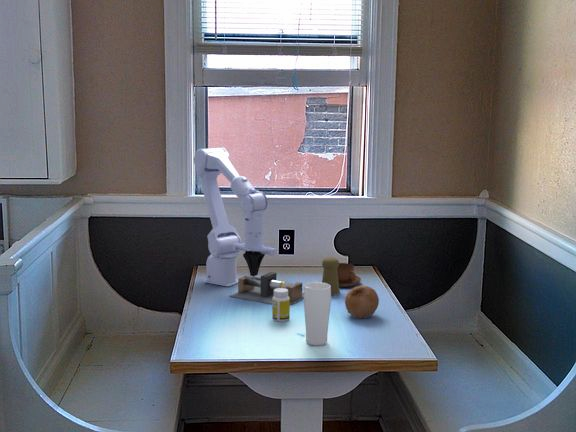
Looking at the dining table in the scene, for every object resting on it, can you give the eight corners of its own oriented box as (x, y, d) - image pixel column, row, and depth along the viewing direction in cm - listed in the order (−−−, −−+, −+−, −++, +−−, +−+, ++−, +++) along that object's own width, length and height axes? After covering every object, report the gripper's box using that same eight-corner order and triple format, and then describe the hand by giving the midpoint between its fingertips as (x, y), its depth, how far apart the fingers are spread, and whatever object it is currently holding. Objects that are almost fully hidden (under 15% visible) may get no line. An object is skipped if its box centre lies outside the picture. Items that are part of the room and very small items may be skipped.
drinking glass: (301, 338, 187) (302, 282, 184) (328, 337, 188) (329, 281, 185) (304, 348, 180) (305, 289, 178) (331, 347, 181) (333, 289, 178)
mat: (229, 296, 222) (229, 295, 222) (254, 285, 234) (254, 284, 234) (286, 307, 212) (286, 306, 212) (309, 295, 224) (309, 294, 224)
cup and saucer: (367, 282, 239) (367, 264, 238) (349, 291, 229) (350, 272, 228) (334, 277, 245) (335, 259, 244) (316, 285, 235) (317, 267, 234)
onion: (358, 331, 202) (352, 304, 196) (342, 312, 209) (335, 286, 204) (387, 316, 204) (382, 289, 198) (370, 298, 212) (365, 272, 206)
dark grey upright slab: (260, 295, 221) (260, 276, 220) (270, 290, 226) (270, 271, 225) (266, 296, 220) (266, 277, 219) (276, 291, 225) (276, 272, 224)
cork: (340, 290, 230) (340, 256, 228) (339, 295, 224) (340, 260, 222) (320, 289, 230) (321, 255, 228) (319, 294, 225) (320, 260, 223)
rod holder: (238, 292, 225) (238, 277, 224) (249, 287, 230) (249, 272, 229) (291, 302, 216) (291, 286, 215) (302, 297, 221) (302, 281, 220)
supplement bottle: (291, 317, 203) (292, 288, 202) (286, 322, 199) (286, 293, 197) (275, 315, 205) (275, 286, 203) (269, 320, 200) (269, 291, 199)
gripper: (226, 231, 222) (227, 274, 225) (267, 237, 215) (267, 281, 218) (239, 227, 228) (240, 269, 231) (279, 232, 221) (279, 276, 224)
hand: (254, 275), depth 225 cm, fingers closed
